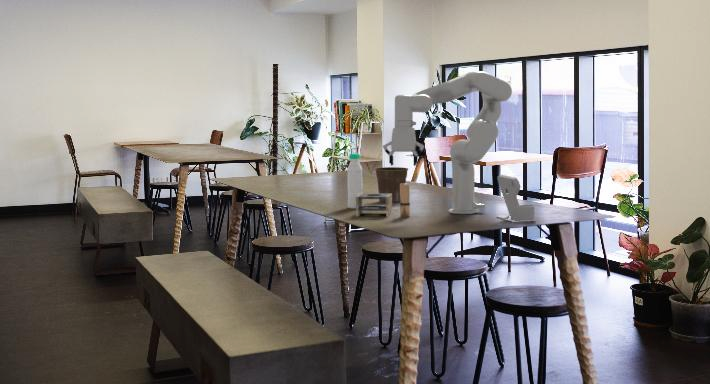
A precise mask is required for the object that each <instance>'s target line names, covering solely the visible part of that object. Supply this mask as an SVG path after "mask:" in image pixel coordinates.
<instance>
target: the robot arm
mask: <svg viewBox="0 0 710 384" xmlns="http://www.w3.org/2000/svg"><path fill="white" fill-rule="evenodd" d="M475 92H480V93H481V96H482V97H481V98H482V108H481V109H480V111H479V112H478V114H477V115H476V116H475V118H474V119H473V120H472V122H471V123H470V125H469V126H468V127H467V129H466V136H467V138H468V139H458V140H455V141H454V142H453V143H452V145H451V147H450V151H449V152H450V153H449V154H450V155H449V156H450V162H451V168H452V169H451V172H452V175H451V176H452V178H451V179H452V181H451V182H452V183H451V184H452V187H451V188H452V190H451V191H452V199H451V200H452V205H451V206H452V208H449V209H448V213H450V214H454V215H455V214H456V215H470V214H477V213H478V212H479V209H486V204H485V203H477V202H476V200H475V165H474V163H478V162H480V161H481V160H482V159H483V158H484V157H485V156H486V155H487V152H488V151H490V149H491V148H492V146H493V145H494V143H495V142H496V141H497V139H498V136H499V127H498V125H497V122H498V121H499V119H500V116H501V115H502V102H507V101H508V100H509V99H510V98H511V97H512V95H513V94H512V93H513V89H512V87H511V85H510V84H509V83H508V82H507V81H505V80H503V79H501V78H499V77H496V76H494V75H493V74H490V73H488V72H485V71H482V70H481V71H480V70H479V71H477V70H476V71H470V72H466V73H464V74H461V75H459V76H457V77H455V78H452V79H450V80H447V81H445V82H440V83H438V84H437V85H433V86H430V87H427V88H425V89H422V90H420V91H417V92H415V93H413V94H411V95H410V94H397V95H395V97H394V127H393V128H392V132H391V141H389V142H387V143H386V144H384V145H382V148H383V150H384V152H385V153H386V154H387V155H388V156H389V157H388V159H389V160H388V161H389V162H388V163H389V164H390V166H391V167H392V166H394V153H395V152H397V153H398V152H401V153H402V152H405V153H406V152H407V153H412V154H413V167H415V166H417V164H418V160H419V159H418V158H419V157H418V156H420V155H421V153H422V152H423V150H424V148H425V145H423V144H422V143H419V142H418V141H417V137H416V129H415V127H413V126H416V125H417V122H416V121H413V119H414V118H413V117H414V116H413V115H414V114H413V113H427V112H429V111H430V110H431V109H432V107H433V105H438V104H443V103H448V102H452V101H455V100H457V99H459V98H462V97H464V96H466V95H467V96H468V95H469V94H471V93H475ZM390 146H391V147H390ZM388 147H390V149H391V150H389V148H388ZM417 147H419V150H418V151H417V150H416V148H417Z"/></svg>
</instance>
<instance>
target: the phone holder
mask: <svg viewBox="0 0 710 384" xmlns="http://www.w3.org/2000/svg"><path fill="white" fill-rule="evenodd" d="M496 177H497V183H498V185H499V188H500V191H501V194H502V196H503V199H504V203H505V205H506V208H507V212H508V214H503V215H496V218H497V217H499V218H503V219H508V218H509V216H511V220H515V221H521V220H533V219H535V205H533V204H519V201H518V198H517V197H518V194H519V192H520V190H521V184H520V181H519V179H518V178H517V177H515V176H510V175H505V174H500V175H498V176H496ZM499 218H498V219H499ZM503 219H502V220H503Z"/></svg>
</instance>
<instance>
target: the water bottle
mask: <svg viewBox="0 0 710 384" xmlns="http://www.w3.org/2000/svg"><path fill="white" fill-rule="evenodd" d="M348 156H349V157H348V158H349V164H348V166H347V169H346V172H347V179H346V180H347V208H348V209H352V210H353V209H355V210H356V196H358V195H359V194H364V193H363V187H364V184H363V183H364V182H363V181H364V179H363V177H364V176H363V167H362V165H361V163H360V158H361V157H360V156H361V155H360V154H359V153H350V154H349V155H348Z"/></svg>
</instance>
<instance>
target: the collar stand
mask: <svg viewBox="0 0 710 384" xmlns="http://www.w3.org/2000/svg"><path fill="white" fill-rule="evenodd" d="M379 199H386V203H385V204H364V200H379ZM365 211H366V212H368V211H369V212H370V211H371V212H385V214H386V218H387V217H388V218H389V217H390V216H391V215H392V213H393V203H392V194H379V193H363V194H359V195H358V196H356V209H355V216H356V217H360V216H361V215H362V214H364V212H365Z"/></svg>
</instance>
